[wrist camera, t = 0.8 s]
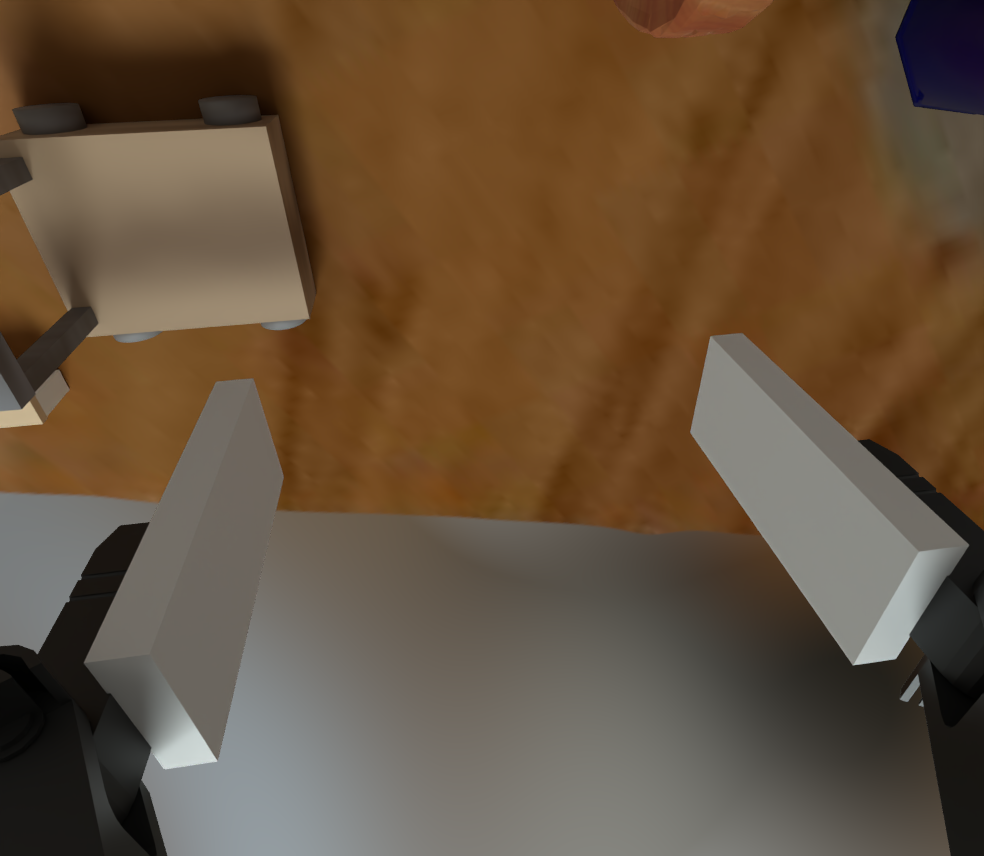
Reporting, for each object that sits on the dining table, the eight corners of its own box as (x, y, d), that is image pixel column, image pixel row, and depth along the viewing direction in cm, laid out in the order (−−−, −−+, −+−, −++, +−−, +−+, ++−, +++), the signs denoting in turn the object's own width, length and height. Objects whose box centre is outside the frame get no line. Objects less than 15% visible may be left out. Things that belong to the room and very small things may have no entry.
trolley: (19, 104, 24) (-178, 155, 15) (274, 92, 25) (215, 135, 16) (115, 322, 29) (8, 444, 21) (319, 306, 30) (293, 416, 22)
